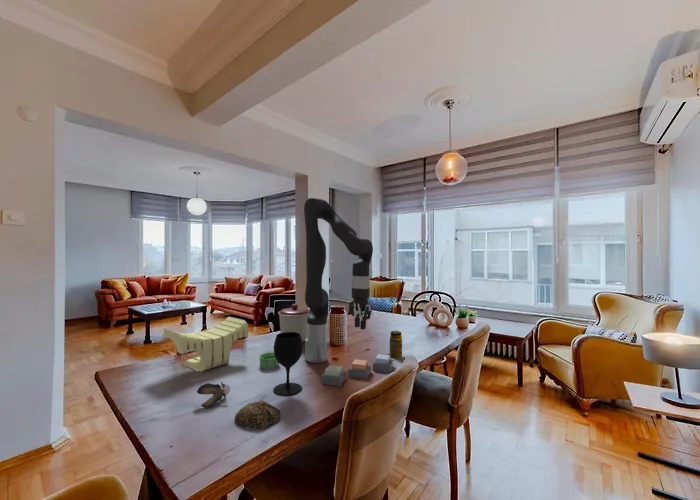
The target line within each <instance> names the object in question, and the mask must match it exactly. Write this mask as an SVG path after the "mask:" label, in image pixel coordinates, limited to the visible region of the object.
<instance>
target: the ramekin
mask: <svg viewBox="0 0 700 500" xmlns="http://www.w3.org/2000/svg"><path fill="white" fill-rule="evenodd" d="M258 358H259V366H260V368H262V369H265V368H271V369H274V367H275V368H277V367H278V366H279V365H280V363H279V362H278V361H277V360H276V358H275V355H274V352H265V353H261V354H260V355H259V357H258Z"/></svg>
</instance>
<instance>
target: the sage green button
mask: <svg viewBox="0 0 700 500" xmlns="http://www.w3.org/2000/svg"><path fill="white" fill-rule="evenodd" d="M343 370H344V369H343V366H340V365H333V364H329V365H328V366H327V367H326V368H325V369H324V372H325V375H327V376H334V377H339V376H340V375H341V374H342V373H343Z"/></svg>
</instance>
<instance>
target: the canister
mask: <svg viewBox="0 0 700 500" xmlns="http://www.w3.org/2000/svg"><path fill="white" fill-rule="evenodd" d="M277 313H278V316H279V327H280V333H284V332H296V333H299V334H300V335H301V339H302V343H305V340H306V339H307V317H308V315H309V313H310V309H309V308H308V309H307V308H303V307H299V305H298V304H297V303H292V304H291V307H287V308H282V309H281V310H280V311H278V312H277Z"/></svg>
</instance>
